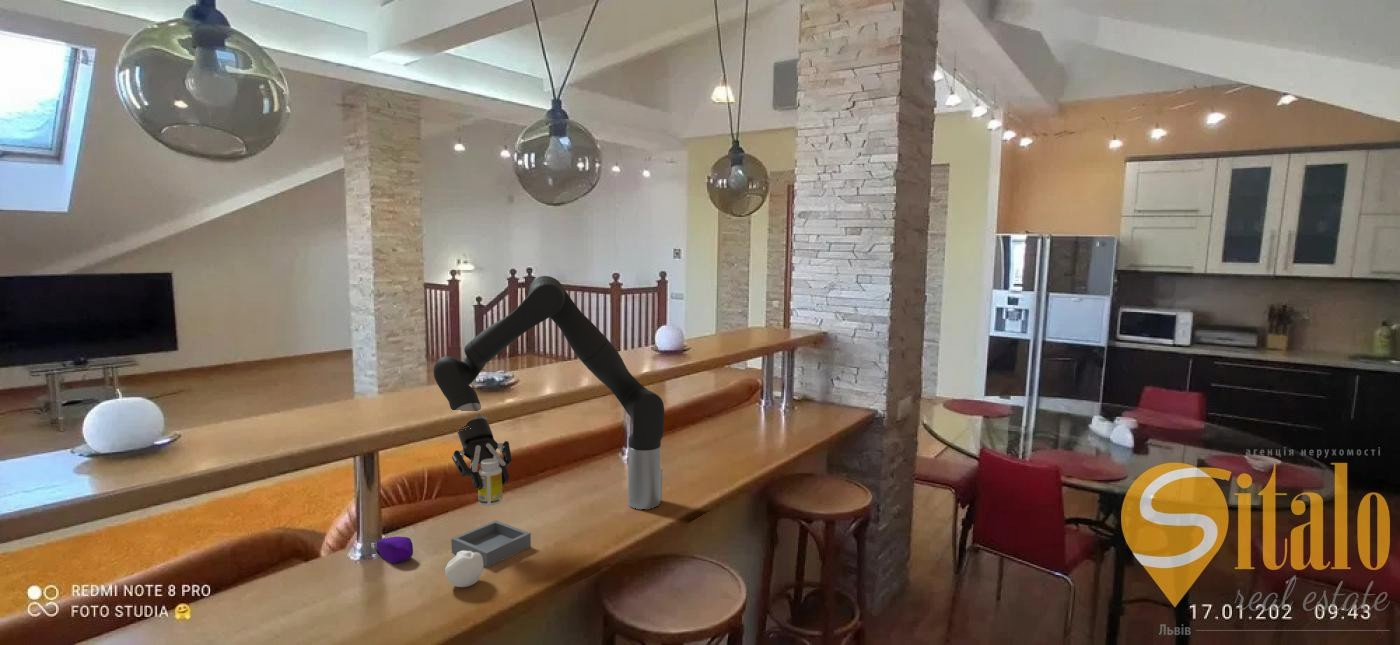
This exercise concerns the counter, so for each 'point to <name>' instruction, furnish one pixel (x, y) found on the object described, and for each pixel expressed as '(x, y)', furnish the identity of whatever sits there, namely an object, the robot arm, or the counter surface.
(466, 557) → the white swirled ball
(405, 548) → the crystal
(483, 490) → the supplement bottle
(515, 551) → the tray
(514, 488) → the counter surface
